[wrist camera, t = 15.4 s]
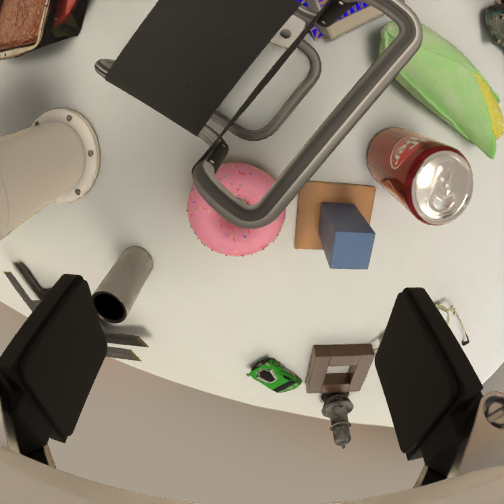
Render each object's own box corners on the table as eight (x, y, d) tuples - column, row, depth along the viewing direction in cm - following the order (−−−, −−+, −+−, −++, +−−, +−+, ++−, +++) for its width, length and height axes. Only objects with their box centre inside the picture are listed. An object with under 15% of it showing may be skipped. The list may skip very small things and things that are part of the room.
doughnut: (293, 168, 34) (297, 177, 31) (274, 253, 39) (275, 271, 36) (196, 151, 34) (188, 159, 30) (187, 238, 39) (179, 255, 35)
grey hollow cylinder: (151, 247, 40) (122, 294, 31) (154, 276, 42) (129, 326, 33) (120, 244, 40) (86, 289, 31) (124, 273, 42) (95, 320, 33)
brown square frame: (305, 382, 52) (306, 393, 49) (313, 345, 47) (315, 356, 45) (357, 380, 51) (359, 391, 49) (371, 343, 47) (374, 354, 45)
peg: (317, 233, 37) (329, 268, 30) (321, 201, 35) (335, 231, 28) (349, 234, 37) (367, 269, 30) (354, 203, 35) (375, 233, 28)
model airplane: (20, 297, 48) (5, 313, 44) (16, 253, 42) (-2, 269, 38) (139, 372, 51) (129, 394, 46) (153, 338, 45) (140, 362, 41)
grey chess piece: (317, 390, 53) (323, 446, 42) (348, 382, 52) (359, 437, 41) (322, 405, 55) (329, 458, 45) (351, 398, 54) (362, 450, 44)
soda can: (417, 187, 34) (468, 228, 24) (363, 186, 35) (403, 229, 24) (422, 129, 31) (481, 151, 20) (366, 124, 31) (412, 143, 21)
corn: (406, -11, 19) (524, 106, 23) (367, 29, 27) (481, 124, 31) (400, 27, 18) (530, 159, 22) (353, 71, 26) (479, 173, 30)
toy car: (305, 380, 51) (306, 390, 49) (284, 391, 53) (285, 401, 51) (267, 352, 48) (267, 363, 46) (245, 365, 50) (245, 375, 48)
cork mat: (294, 246, 39) (294, 248, 38) (299, 180, 35) (300, 181, 34) (363, 249, 39) (364, 251, 38) (374, 186, 35) (375, 187, 34)
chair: (260, 152, 33) (256, 246, 14) (133, 71, 29) (-13, 71, 10) (333, 63, 28) (439, 29, 9) (201, -20, 24) (125, -128, 4)
